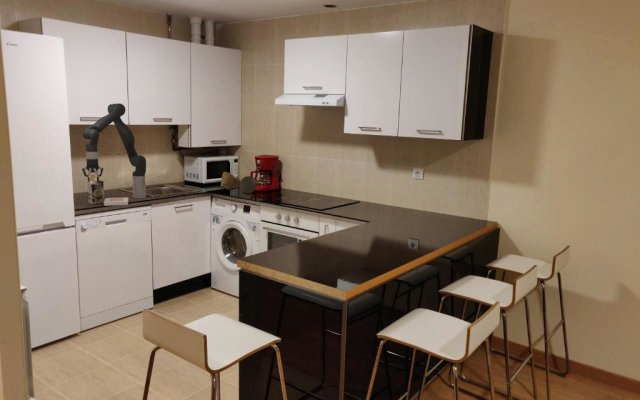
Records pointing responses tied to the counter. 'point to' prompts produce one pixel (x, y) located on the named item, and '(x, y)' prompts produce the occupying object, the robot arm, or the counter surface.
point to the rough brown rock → (229, 181)
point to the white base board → (115, 201)
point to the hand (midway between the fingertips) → (93, 182)
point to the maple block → (93, 179)
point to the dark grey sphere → (248, 185)
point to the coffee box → (96, 192)
